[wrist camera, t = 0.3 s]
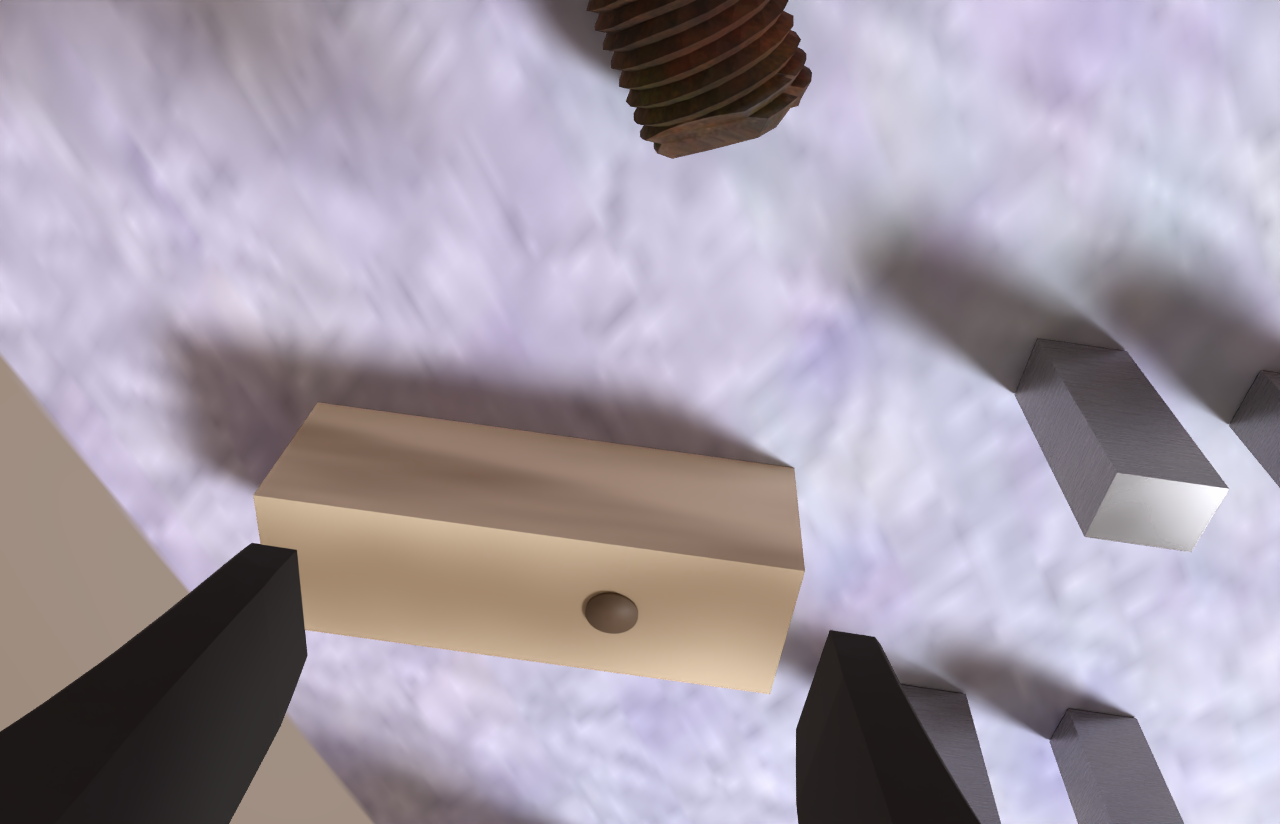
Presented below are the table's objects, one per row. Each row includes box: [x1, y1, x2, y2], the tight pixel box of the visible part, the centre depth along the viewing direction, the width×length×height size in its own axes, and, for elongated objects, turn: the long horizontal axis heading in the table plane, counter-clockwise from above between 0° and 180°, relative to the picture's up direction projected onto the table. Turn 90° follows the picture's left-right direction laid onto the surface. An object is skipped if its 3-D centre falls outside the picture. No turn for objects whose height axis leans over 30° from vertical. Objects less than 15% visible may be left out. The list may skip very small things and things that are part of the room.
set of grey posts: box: [901, 339, 1229, 824], centre depth 22 cm, size 13×2×5 cm, turn 173°
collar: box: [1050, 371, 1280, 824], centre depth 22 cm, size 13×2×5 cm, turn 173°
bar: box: [253, 402, 805, 694], centre depth 23 cm, size 4×12×4 cm, turn 84°
